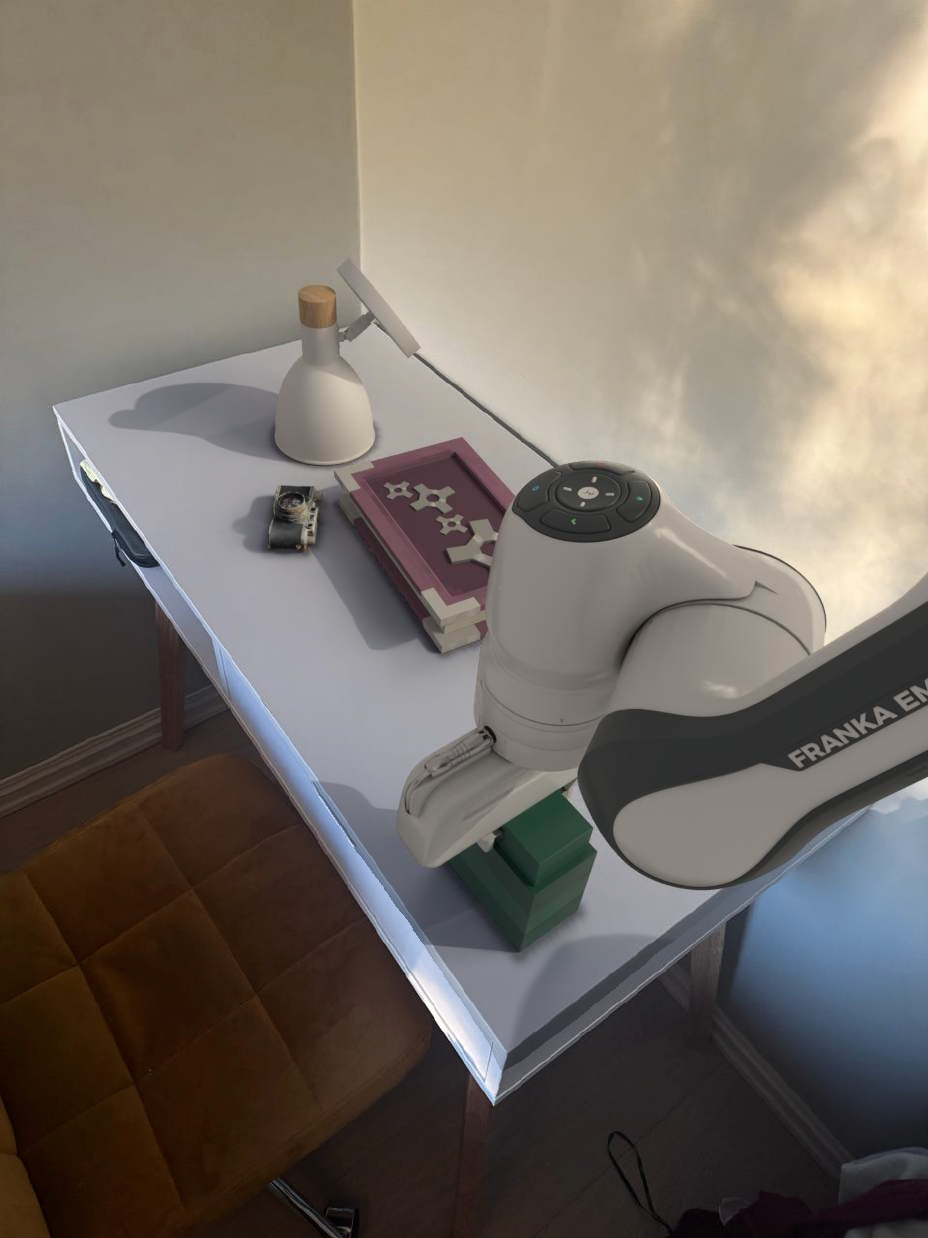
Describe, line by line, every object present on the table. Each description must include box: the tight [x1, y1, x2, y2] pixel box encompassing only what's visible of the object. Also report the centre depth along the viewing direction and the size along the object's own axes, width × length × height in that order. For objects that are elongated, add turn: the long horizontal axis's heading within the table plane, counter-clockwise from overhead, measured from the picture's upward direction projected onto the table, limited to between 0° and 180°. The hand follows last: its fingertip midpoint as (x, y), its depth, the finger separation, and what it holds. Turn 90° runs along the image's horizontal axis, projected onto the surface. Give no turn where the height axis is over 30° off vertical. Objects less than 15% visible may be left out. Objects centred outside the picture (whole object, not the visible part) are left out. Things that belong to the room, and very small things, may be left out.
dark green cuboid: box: [499, 790, 594, 886], centre depth 65 cm, size 9×5×3 cm, turn 37°
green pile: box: [446, 842, 598, 953], centre depth 69 cm, size 10×6×9 cm, turn 37°
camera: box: [267, 484, 324, 551], centre depth 99 cm, size 5×10×4 cm, turn 0°
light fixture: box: [274, 257, 421, 466], centre depth 107 cm, size 13×21×20 cm
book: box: [333, 436, 516, 654], centre depth 97 cm, size 25×16×5 cm, turn 29°
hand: (521, 817), depth 65 cm, fingers closed on dark green cuboid, 5 cm apart
